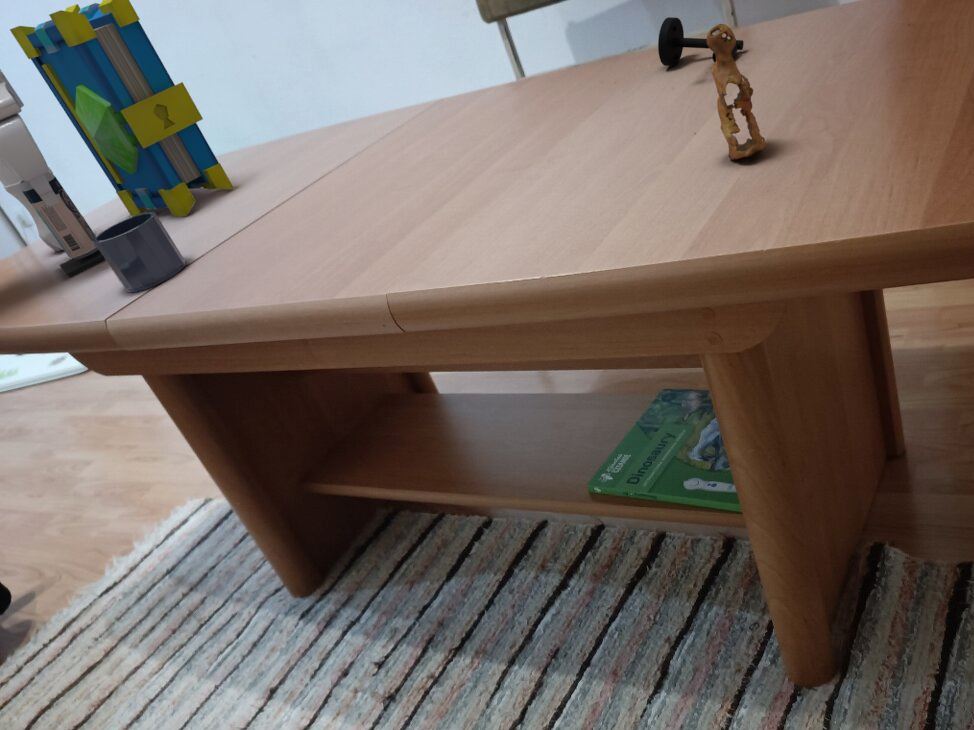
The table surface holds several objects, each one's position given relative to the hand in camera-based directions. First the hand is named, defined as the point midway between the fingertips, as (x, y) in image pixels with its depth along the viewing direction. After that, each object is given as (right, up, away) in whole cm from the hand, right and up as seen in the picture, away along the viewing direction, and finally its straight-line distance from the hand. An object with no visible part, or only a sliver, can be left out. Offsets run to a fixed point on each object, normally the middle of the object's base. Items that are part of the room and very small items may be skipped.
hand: (50, 202), depth 124 cm
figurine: (+93, -7, -40) cm, 102 cm away
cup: (+21, -13, -12) cm, 28 cm away
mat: (+3, -7, +5) cm, 9 cm away
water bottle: (-7, -2, +18) cm, 19 cm away
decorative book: (+10, +5, +18) cm, 22 cm away
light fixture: (+91, +14, -11) cm, 93 cm away
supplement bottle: (+2, -6, +5) cm, 8 cm away
